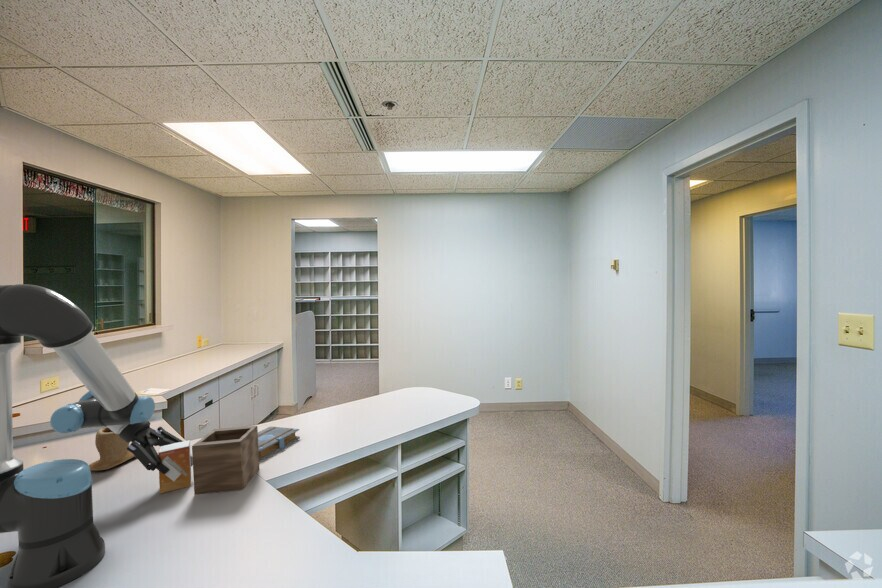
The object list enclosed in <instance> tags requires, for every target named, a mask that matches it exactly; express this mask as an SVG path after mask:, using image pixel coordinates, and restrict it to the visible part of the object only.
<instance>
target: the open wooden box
mask: <svg viewBox="0 0 882 588" xmlns="http://www.w3.org/2000/svg"><path fill="white" fill-rule="evenodd" d="M258 429H259V428H258V425H247V426H238V427H237V426H235V427H224V428H214V429H213V430H212V431H210V432H208V433H207V434H206V435H205V436H203V437H202V438H200V439H198V441H196V442H195V443H194V444H193V445H191V451H192V453H191V454H192V457H193V466H192V472H193V491H194V492H193V493H194V496H195V495H204V494H212V493H223V492H225V493H226V492H233V491H241V490H242V491H243V490H244V488H245V487H246V486H247V485H248V483H249V482H250V481H251V480H252V478H253V477H254V476H255V474H256V473H257V472H258V470H260V460H259V450H258V432H259V430H258Z"/></svg>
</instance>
